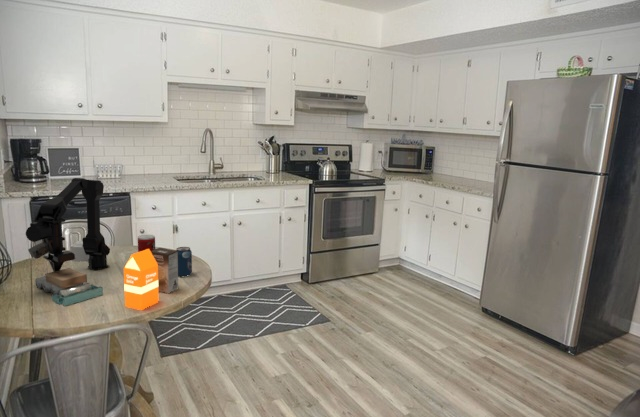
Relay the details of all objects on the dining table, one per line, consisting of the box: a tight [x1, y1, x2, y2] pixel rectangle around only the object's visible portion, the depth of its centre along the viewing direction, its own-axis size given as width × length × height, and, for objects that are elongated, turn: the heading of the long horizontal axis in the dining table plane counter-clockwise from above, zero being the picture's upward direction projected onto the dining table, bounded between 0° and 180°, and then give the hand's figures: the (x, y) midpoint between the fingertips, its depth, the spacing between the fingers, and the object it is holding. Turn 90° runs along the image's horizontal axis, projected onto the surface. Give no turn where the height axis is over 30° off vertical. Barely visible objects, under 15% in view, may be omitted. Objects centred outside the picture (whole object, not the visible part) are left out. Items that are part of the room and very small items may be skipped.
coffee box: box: [151, 247, 179, 294], centre depth 173 cm, size 9×6×16 cm
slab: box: [44, 267, 88, 288], centre depth 167 cm, size 9×12×3 cm
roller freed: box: [59, 282, 92, 297], centre depth 164 cm, size 10×4×4 cm, turn 146°
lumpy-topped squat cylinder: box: [70, 239, 89, 262], centre depth 208 cm, size 10×13×9 cm
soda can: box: [175, 246, 193, 277], centre depth 191 cm, size 7×7×12 cm
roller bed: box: [35, 275, 104, 307], centre depth 168 cm, size 15×26×4 cm, turn 56°
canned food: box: [137, 234, 156, 252], centre depth 211 cm, size 8×8×11 cm
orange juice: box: [123, 249, 160, 311], centre depth 158 cm, size 8×9×20 cm
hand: (56, 274), depth 170 cm, fingers closed
